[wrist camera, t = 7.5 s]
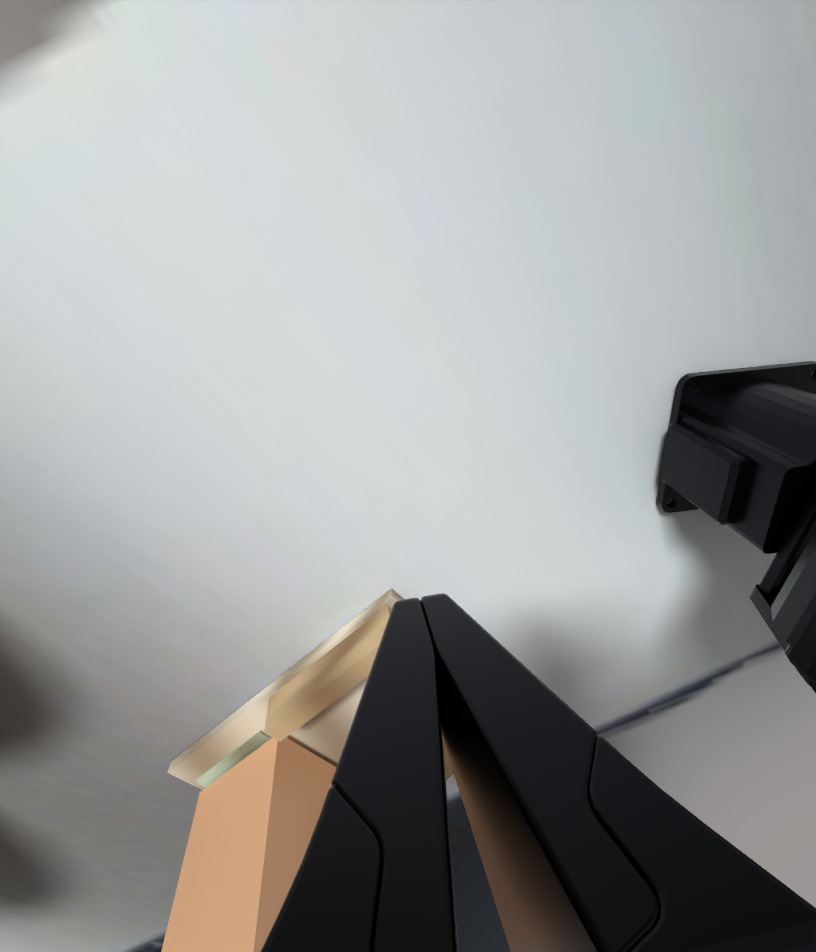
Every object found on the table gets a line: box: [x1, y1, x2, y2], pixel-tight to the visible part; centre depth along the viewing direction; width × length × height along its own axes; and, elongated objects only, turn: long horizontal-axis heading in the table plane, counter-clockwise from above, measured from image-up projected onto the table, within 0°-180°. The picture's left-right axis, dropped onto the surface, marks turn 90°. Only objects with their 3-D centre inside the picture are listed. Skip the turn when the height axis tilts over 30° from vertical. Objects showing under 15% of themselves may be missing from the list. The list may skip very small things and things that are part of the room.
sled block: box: [162, 738, 337, 952], centre depth 24 cm, size 6×6×10 cm
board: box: [167, 589, 454, 790], centre depth 27 cm, size 16×10×3 cm, turn 131°
